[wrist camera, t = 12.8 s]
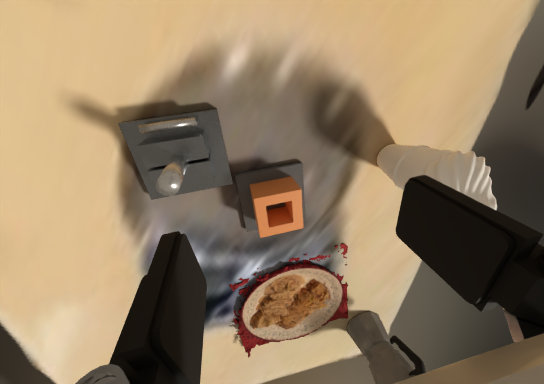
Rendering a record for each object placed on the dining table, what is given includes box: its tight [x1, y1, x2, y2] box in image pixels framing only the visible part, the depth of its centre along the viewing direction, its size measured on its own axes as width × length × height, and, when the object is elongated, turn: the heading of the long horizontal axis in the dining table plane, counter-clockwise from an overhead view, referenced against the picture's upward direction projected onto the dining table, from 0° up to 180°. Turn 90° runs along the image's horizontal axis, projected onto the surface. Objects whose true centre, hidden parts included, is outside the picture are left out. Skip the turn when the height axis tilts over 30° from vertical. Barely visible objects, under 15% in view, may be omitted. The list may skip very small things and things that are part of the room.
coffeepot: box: [347, 312, 426, 384], centre depth 49 cm, size 15×9×18 cm, turn 165°
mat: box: [235, 162, 305, 232], centre depth 34 cm, size 10×10×1 cm
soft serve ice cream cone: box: [377, 144, 497, 210], centre depth 29 cm, size 8×8×16 cm
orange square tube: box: [250, 176, 303, 238], centre depth 32 cm, size 6×6×4 cm
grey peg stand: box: [118, 108, 233, 200], centre depth 24 cm, size 11×10×10 cm
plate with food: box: [229, 244, 348, 357], centre depth 46 cm, size 24×26×4 cm
